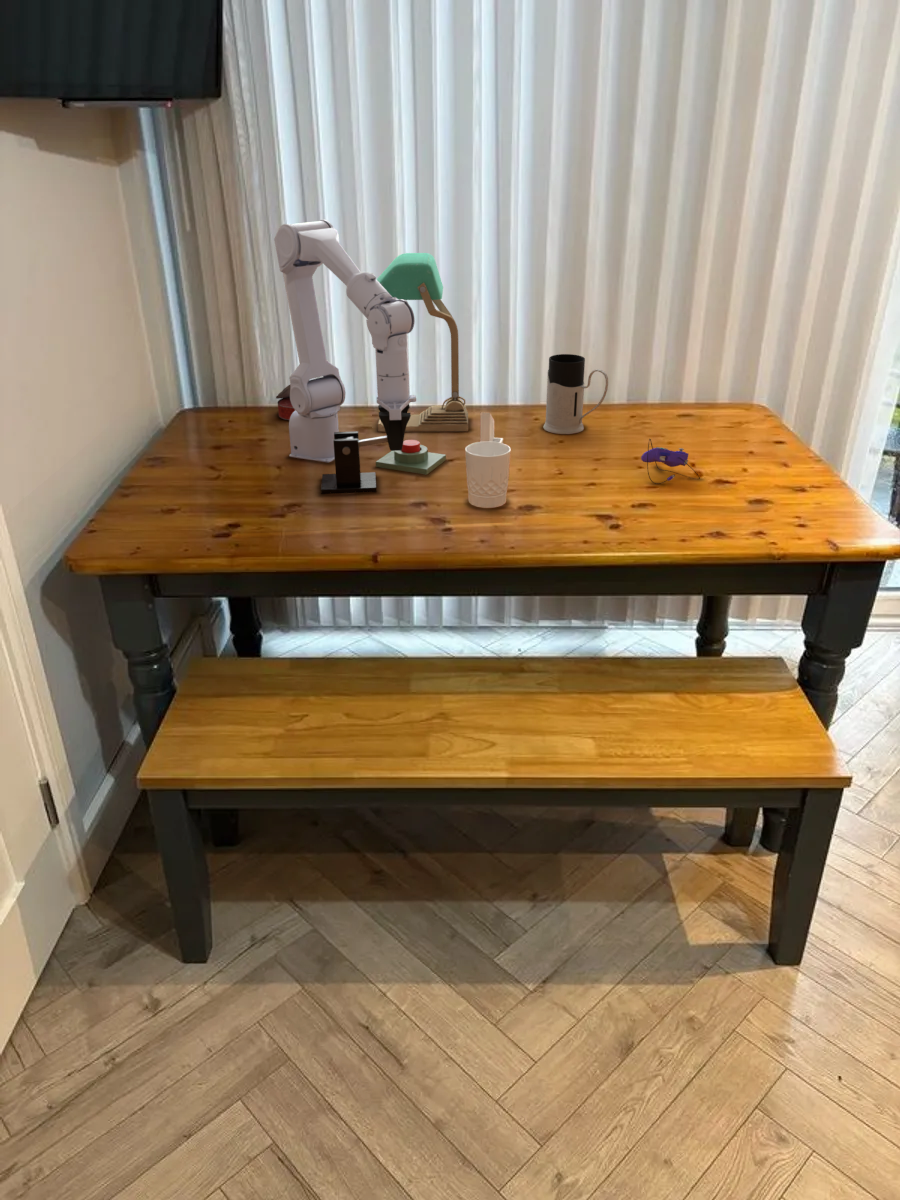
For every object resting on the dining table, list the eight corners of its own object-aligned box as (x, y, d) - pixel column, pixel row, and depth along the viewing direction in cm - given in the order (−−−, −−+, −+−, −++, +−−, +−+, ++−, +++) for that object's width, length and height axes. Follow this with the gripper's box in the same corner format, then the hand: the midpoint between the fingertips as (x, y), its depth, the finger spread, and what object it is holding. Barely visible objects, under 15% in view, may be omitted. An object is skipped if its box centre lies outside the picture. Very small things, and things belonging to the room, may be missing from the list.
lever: (404, 441, 175) (401, 425, 173) (405, 446, 172) (402, 431, 171) (340, 451, 174) (337, 436, 173) (340, 457, 172) (337, 441, 170)
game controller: (667, 442, 185) (706, 446, 177) (660, 484, 186) (698, 490, 178) (630, 435, 180) (668, 439, 171) (623, 478, 181) (660, 484, 173)
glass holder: (556, 419, 211) (559, 351, 204) (613, 430, 204) (618, 360, 197) (535, 429, 205) (538, 359, 198) (594, 441, 198) (598, 369, 190)
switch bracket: (375, 478, 180) (373, 428, 175) (376, 493, 173) (373, 442, 168) (322, 480, 179) (318, 430, 175) (321, 496, 172) (317, 444, 168)
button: (398, 452, 184) (398, 444, 183) (406, 447, 187) (406, 438, 186) (415, 455, 183) (414, 446, 182) (423, 449, 186) (422, 441, 185)
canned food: (284, 439, 215) (259, 401, 211) (297, 420, 223) (273, 384, 219) (324, 419, 210) (300, 380, 206) (336, 401, 219) (313, 363, 214)
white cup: (514, 496, 171) (516, 443, 166) (502, 513, 165) (503, 458, 160) (473, 491, 173) (473, 439, 169) (459, 507, 167) (459, 453, 162)
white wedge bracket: (476, 457, 182) (480, 412, 183) (483, 466, 192) (487, 423, 192) (495, 458, 182) (499, 413, 182) (501, 467, 192) (505, 424, 192)
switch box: (375, 468, 185) (375, 452, 183) (396, 454, 192) (396, 438, 190) (426, 476, 181) (426, 460, 179) (446, 461, 188) (446, 445, 186)
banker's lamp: (468, 436, 201) (468, 263, 184) (370, 437, 201) (361, 264, 185) (468, 414, 215) (467, 251, 198) (376, 414, 215) (368, 252, 199)
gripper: (417, 383, 161) (419, 459, 167) (413, 361, 174) (415, 433, 180) (376, 384, 160) (379, 460, 167) (374, 363, 173) (378, 434, 179)
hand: (395, 446), depth 173 cm, fingers closed on lever, 3 cm apart
